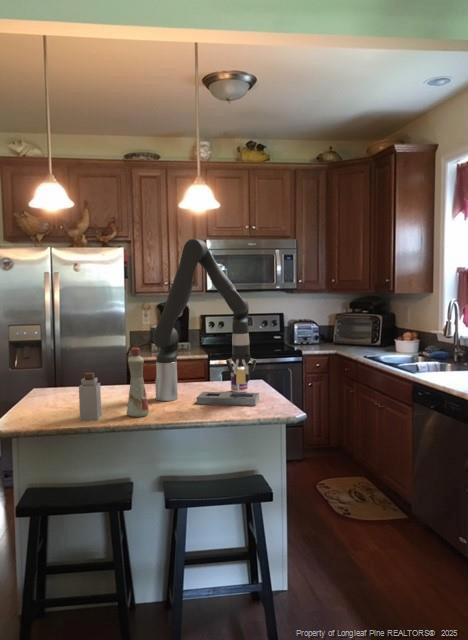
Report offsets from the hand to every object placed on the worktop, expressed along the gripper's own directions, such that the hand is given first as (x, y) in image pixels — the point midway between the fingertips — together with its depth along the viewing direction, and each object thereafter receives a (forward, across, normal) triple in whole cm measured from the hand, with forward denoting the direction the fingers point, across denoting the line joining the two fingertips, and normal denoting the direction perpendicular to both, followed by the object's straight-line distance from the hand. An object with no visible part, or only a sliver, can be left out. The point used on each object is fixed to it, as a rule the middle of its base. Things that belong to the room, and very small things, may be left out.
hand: (241, 382), depth 226 cm
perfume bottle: (+9, -55, -34) cm, 65 cm away
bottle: (+9, -38, -27) cm, 48 cm away
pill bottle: (+9, -5, +22) cm, 25 cm away
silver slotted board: (+9, -6, 0) cm, 11 cm away
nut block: (+1, 0, 0) cm, 1 cm away
